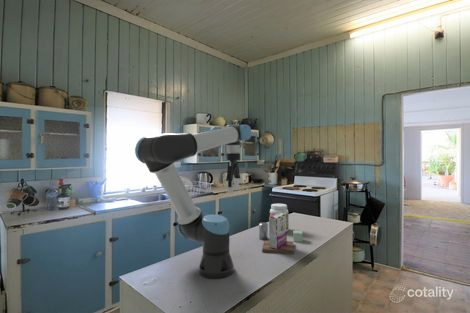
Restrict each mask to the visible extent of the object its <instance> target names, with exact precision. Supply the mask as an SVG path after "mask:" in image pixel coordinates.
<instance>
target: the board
mask: <svg viewBox="0 0 470 313" xmlns="http://www.w3.org/2000/svg"><path fill="white" fill-rule="evenodd" d="M261 249H262V251H261V252H262V253H269V254H284V255H286V254H289V255H294V254H295V250H294V249H295V248H294V241H289V240H288V241H287V243H286V244H285V245H283V246H282V247H280V248H279V249H274V248H270V239H267V240H263V244H262V248H261Z"/></svg>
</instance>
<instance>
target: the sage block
mask: <svg viewBox="0 0 470 313" xmlns="http://www.w3.org/2000/svg"><path fill="white" fill-rule="evenodd" d="M292 234H293V235H292V236H293V237H292V238H293V240H292V242H293V243H294V242H295V243H296V242H297V243H303V230H293V231H292Z"/></svg>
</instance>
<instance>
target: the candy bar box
mask: <svg viewBox="0 0 470 313" xmlns="http://www.w3.org/2000/svg"><path fill="white" fill-rule="evenodd" d="M268 229H269V230H268V231H269V234H268V235H269V236H268V237H269V240H270V248H274V249H279V248H280V247H282V246H283V245H285V244H286V243H287V239H288V238H287V236H288V235H287V232H288V231H287V232H286V214H284V213H277V214H275V215H273V216H270V215H269V216H268Z"/></svg>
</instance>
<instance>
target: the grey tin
mask: <svg viewBox="0 0 470 313" xmlns="http://www.w3.org/2000/svg"><path fill="white" fill-rule="evenodd" d="M268 229H269V223H267V222H259V223H258V234H259V235H258V239H259V240H261V241H264V240H269V238H268V237H269V236H268V235H269V234H268V231H269V230H268Z"/></svg>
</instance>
